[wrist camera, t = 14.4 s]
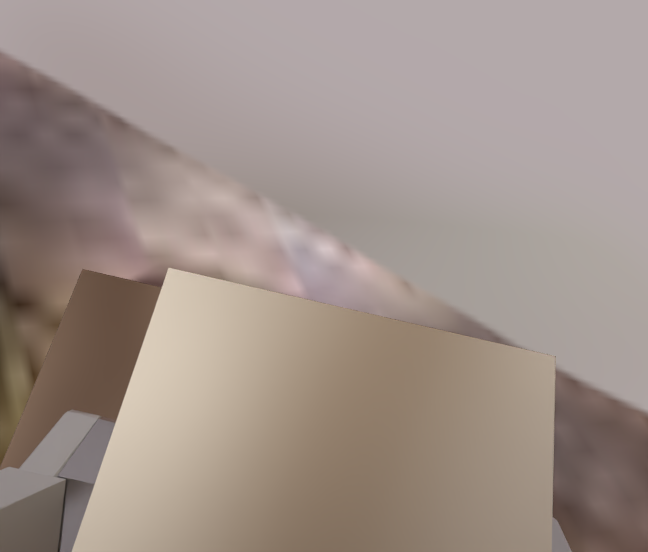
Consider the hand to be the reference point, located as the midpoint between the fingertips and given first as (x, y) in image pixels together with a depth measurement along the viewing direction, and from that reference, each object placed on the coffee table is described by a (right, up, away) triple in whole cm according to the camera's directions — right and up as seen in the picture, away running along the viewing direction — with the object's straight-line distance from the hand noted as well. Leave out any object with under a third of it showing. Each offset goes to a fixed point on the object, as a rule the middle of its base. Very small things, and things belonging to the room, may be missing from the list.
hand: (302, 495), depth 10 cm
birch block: (-1, -2, +4) cm, 4 cm away
